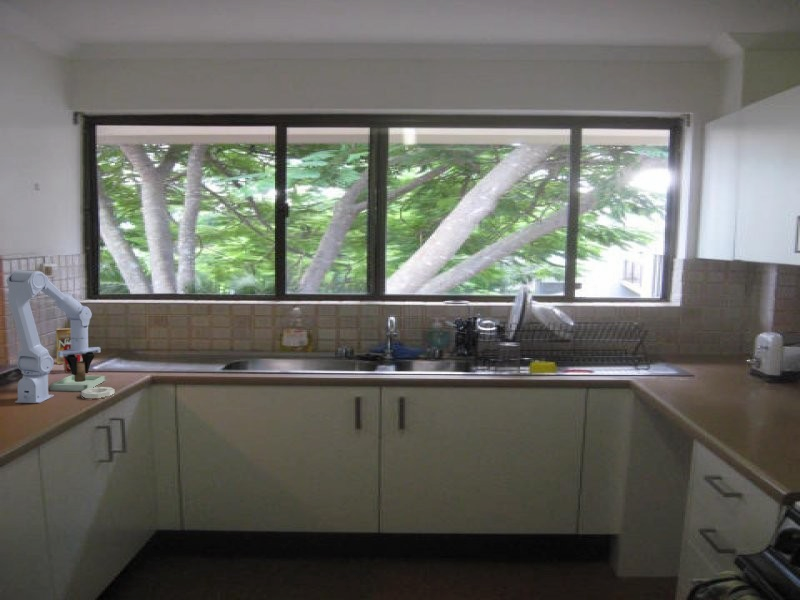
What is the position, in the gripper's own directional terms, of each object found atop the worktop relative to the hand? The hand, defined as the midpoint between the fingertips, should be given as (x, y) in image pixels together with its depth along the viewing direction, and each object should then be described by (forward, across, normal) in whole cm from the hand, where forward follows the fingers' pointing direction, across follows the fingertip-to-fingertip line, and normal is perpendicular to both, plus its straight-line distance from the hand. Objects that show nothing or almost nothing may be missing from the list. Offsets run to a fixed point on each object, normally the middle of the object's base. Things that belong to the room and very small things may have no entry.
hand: (79, 373), depth 218 cm
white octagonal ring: (+5, -2, -17) cm, 18 cm away
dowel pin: (+3, 0, 0) cm, 3 cm away
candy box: (+5, +15, +44) cm, 47 cm away
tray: (+5, 0, +1) cm, 5 cm away
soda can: (+5, +9, +26) cm, 28 cm away
